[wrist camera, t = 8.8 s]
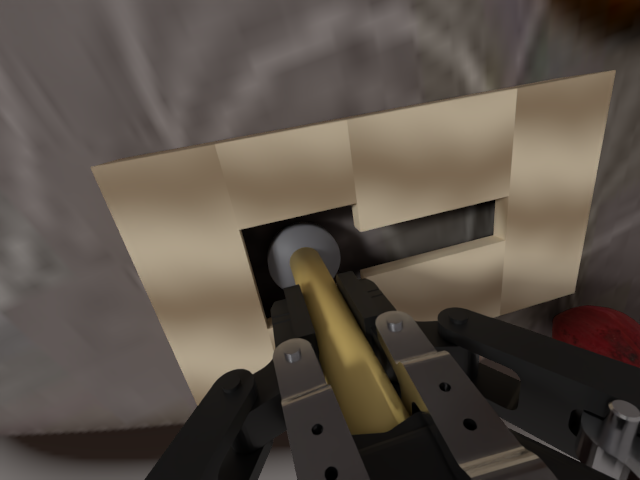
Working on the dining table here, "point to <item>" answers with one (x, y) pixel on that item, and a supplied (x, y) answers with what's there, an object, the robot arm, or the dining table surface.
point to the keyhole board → (366, 210)
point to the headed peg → (335, 328)
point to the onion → (600, 332)
